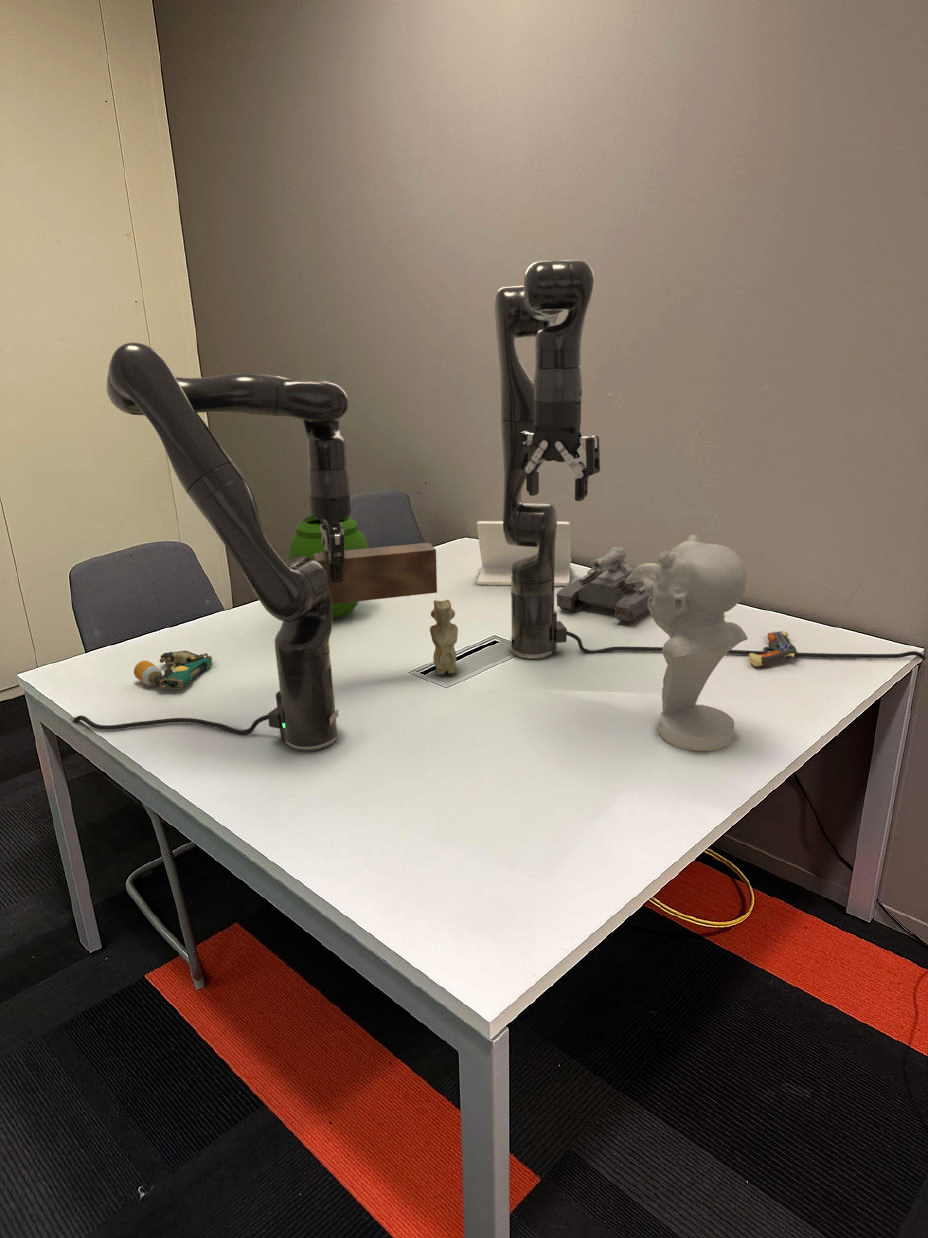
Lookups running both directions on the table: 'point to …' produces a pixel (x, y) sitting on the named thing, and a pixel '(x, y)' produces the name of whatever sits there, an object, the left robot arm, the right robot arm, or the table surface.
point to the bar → (383, 572)
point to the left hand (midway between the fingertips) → (334, 577)
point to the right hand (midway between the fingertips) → (556, 497)
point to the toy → (607, 589)
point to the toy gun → (774, 649)
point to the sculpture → (444, 637)
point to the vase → (311, 542)
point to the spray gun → (172, 669)
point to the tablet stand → (517, 554)
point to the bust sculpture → (694, 634)
